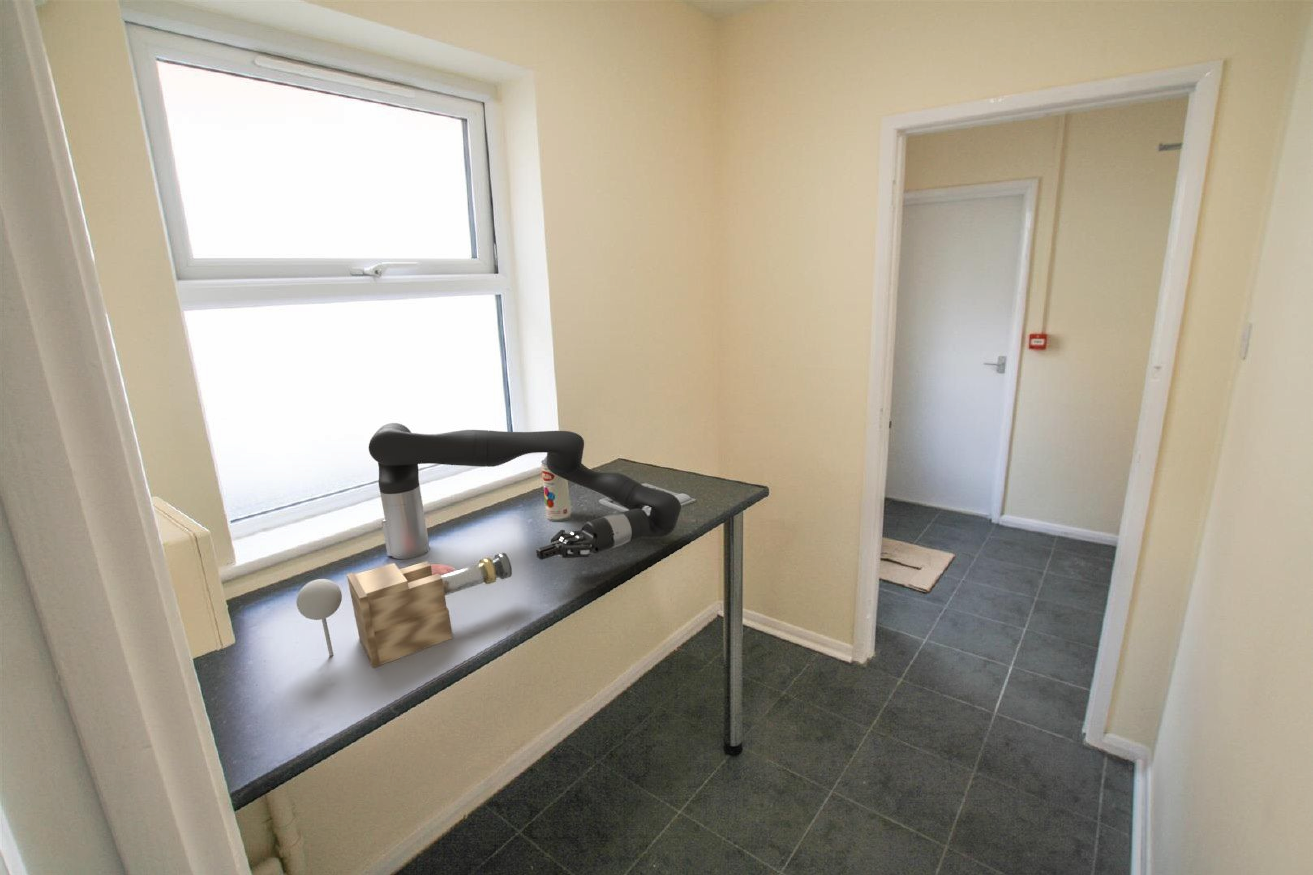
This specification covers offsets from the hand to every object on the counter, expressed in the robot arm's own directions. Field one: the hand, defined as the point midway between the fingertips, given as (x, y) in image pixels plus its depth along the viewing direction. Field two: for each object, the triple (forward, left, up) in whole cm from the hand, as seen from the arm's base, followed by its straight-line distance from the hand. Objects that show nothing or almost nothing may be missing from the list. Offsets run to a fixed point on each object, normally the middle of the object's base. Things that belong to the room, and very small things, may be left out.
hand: (538, 554), depth 130 cm
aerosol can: (-9, +42, -8) cm, 43 cm away
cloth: (-33, +1, -9) cm, 35 cm away
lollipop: (-31, -26, -8) cm, 42 cm away
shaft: (-11, -11, -3) cm, 16 cm away
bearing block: (-20, -20, -8) cm, 30 cm away
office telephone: (+14, +55, -9) cm, 57 cm away
